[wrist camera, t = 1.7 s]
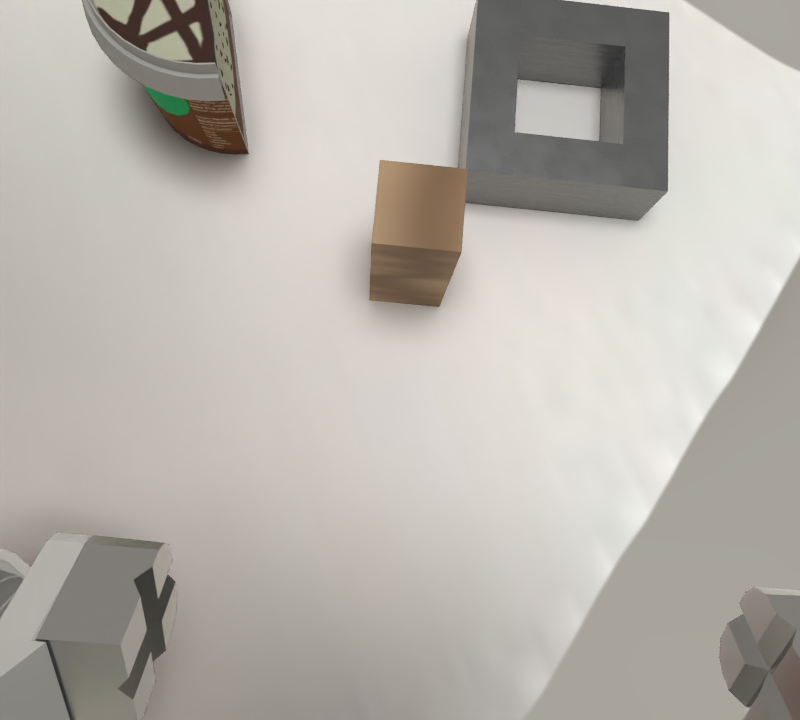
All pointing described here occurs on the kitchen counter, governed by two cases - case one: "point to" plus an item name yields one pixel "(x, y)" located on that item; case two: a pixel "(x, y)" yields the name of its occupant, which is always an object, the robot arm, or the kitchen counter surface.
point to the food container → (179, 63)
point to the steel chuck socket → (577, 65)
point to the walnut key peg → (416, 232)
